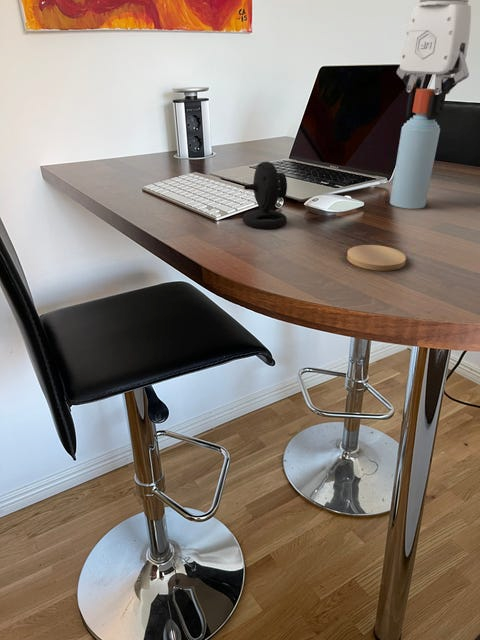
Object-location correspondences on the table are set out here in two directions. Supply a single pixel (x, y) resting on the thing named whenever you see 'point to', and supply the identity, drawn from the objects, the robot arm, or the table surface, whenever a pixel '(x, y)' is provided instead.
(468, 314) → the table surface
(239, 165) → the table surface
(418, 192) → the bottle
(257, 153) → the table surface
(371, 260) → the coaster
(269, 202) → the webcam
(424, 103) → the cap
